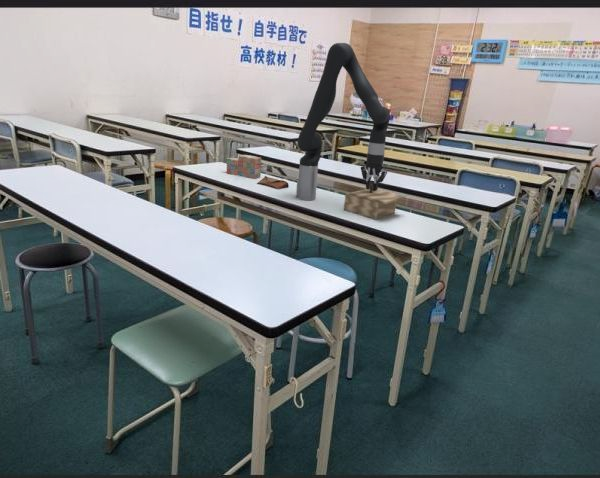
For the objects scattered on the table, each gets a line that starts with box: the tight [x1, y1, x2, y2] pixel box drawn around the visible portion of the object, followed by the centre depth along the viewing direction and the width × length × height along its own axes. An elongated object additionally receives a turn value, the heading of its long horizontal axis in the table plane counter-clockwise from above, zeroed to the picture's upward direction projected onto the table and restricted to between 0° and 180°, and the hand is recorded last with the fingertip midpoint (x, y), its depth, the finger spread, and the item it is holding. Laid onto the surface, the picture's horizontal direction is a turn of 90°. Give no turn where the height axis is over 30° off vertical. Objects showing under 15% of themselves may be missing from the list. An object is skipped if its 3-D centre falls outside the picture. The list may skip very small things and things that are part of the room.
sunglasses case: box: [255, 175, 290, 190], centre depth 245 cm, size 18×7×7 cm, turn 52°
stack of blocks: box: [226, 154, 262, 180], centre depth 263 cm, size 21×6×12 cm, turn 59°
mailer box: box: [343, 188, 397, 221], centre depth 206 cm, size 18×16×8 cm
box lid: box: [350, 180, 406, 204], centre depth 201 cm, size 19×16×7 cm
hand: (371, 189), depth 204 cm, fingers closed on box lid, 3 cm apart
